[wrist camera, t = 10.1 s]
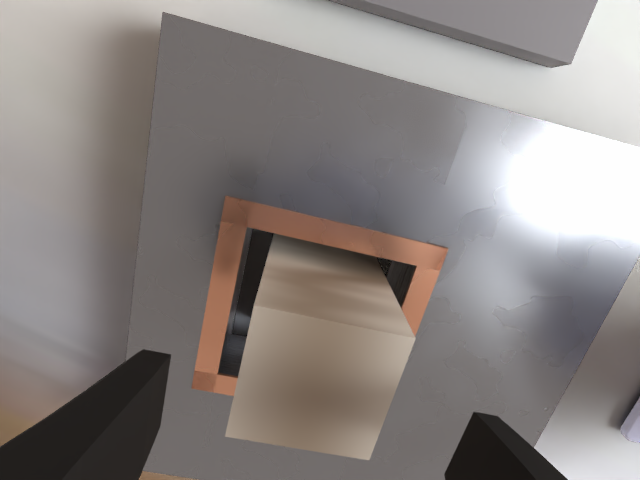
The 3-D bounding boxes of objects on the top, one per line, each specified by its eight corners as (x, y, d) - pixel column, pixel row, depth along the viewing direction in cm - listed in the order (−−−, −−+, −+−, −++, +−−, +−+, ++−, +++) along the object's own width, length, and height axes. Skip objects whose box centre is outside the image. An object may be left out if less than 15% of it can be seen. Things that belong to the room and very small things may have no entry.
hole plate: (625, 154, 14) (694, 162, 11) (467, 471, 19) (492, 526, 16) (190, 32, 12) (161, 10, 10) (141, 417, 17) (112, 468, 14)
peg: (373, 252, 15) (415, 338, 9) (346, 337, 16) (369, 460, 10) (274, 230, 14) (253, 305, 9) (254, 319, 16) (224, 436, 10)
